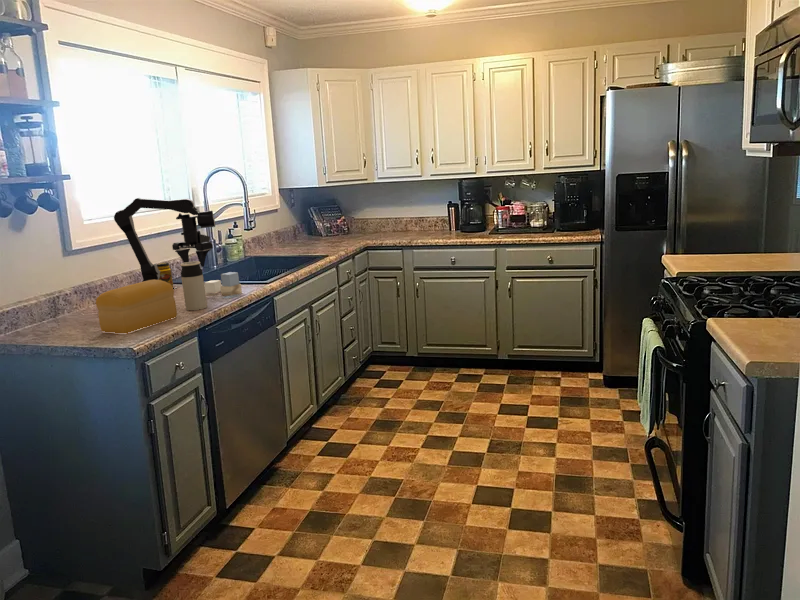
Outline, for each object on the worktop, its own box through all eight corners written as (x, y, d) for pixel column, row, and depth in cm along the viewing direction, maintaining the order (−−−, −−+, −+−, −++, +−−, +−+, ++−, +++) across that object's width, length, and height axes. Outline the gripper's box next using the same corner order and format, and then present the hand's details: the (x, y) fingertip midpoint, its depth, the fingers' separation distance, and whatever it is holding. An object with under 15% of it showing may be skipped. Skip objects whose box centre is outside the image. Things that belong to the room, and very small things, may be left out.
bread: (153, 316, 253) (147, 277, 250) (179, 317, 247) (173, 277, 244) (100, 333, 232) (92, 291, 229) (126, 335, 226) (119, 292, 223)
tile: (229, 298, 273) (229, 297, 273) (222, 298, 275) (222, 297, 275) (240, 295, 278) (240, 294, 278) (233, 295, 280) (233, 294, 280)
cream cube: (215, 294, 286) (214, 282, 285) (205, 294, 288) (204, 282, 287) (222, 291, 291) (220, 280, 290) (212, 291, 293) (210, 280, 292)
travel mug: (201, 310, 255) (194, 264, 251) (182, 311, 256) (175, 265, 253) (211, 306, 262) (204, 260, 258) (192, 306, 264) (185, 261, 260)
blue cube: (230, 286, 278) (229, 274, 277) (222, 286, 281) (220, 274, 280) (239, 284, 282) (237, 272, 281) (231, 283, 285) (229, 272, 284)
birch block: (231, 296, 278) (230, 287, 277) (221, 295, 281) (220, 286, 281) (242, 293, 283) (240, 284, 282) (232, 292, 286) (230, 283, 285)
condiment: (165, 291, 302) (161, 265, 299) (153, 290, 306) (148, 264, 303) (178, 287, 308) (174, 262, 305) (165, 287, 312) (161, 261, 309)
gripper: (220, 226, 278) (225, 263, 282) (190, 226, 288) (195, 262, 292) (199, 230, 269) (204, 268, 273) (169, 230, 279) (174, 267, 283)
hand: (195, 266), depth 280 cm, fingers open, 9 cm apart
